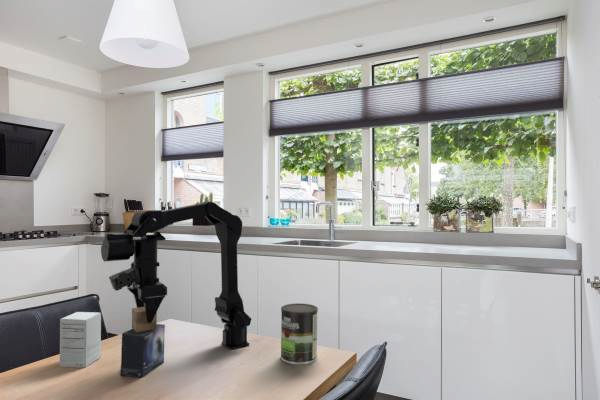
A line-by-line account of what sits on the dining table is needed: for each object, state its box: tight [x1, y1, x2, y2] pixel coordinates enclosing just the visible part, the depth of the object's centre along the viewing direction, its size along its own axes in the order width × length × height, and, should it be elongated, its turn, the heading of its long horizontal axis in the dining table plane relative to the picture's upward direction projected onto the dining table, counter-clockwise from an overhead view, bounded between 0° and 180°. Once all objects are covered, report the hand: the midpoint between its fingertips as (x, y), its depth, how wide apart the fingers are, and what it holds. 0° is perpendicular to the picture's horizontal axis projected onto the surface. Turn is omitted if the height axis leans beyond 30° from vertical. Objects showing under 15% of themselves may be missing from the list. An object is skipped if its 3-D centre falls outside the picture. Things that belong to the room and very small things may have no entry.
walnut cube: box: [131, 307, 158, 332], centre depth 106 cm, size 5×5×5 cm
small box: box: [119, 323, 166, 378], centre depth 106 cm, size 11×6×10 cm, turn 168°
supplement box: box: [59, 311, 102, 368], centre depth 110 cm, size 7×7×13 cm
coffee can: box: [280, 303, 319, 366], centre depth 114 cm, size 10×10×14 cm
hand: (144, 318), depth 106 cm, fingers open, 9 cm apart
